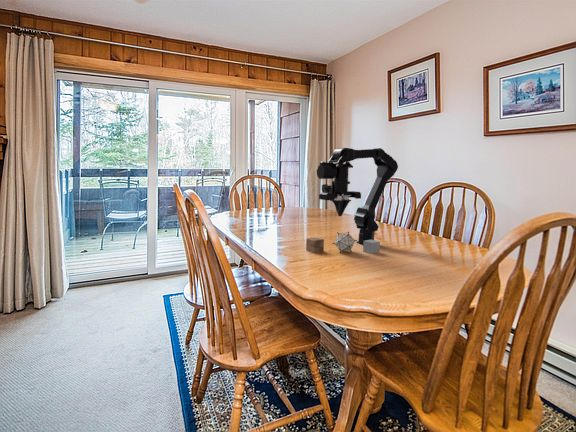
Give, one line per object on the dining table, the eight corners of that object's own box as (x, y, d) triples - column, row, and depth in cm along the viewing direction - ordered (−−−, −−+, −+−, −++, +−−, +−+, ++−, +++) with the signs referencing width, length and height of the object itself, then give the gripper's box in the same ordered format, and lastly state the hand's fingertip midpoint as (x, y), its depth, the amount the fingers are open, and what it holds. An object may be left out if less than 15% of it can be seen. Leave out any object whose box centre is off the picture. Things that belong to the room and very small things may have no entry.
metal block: (315, 248, 146) (316, 237, 145) (323, 251, 142) (323, 239, 141) (306, 250, 143) (306, 238, 143) (313, 253, 139) (314, 240, 139)
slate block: (370, 250, 145) (371, 239, 144) (379, 252, 141) (379, 241, 140) (363, 251, 142) (363, 240, 142) (371, 254, 139) (372, 242, 138)
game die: (347, 261, 141) (356, 245, 134) (328, 253, 142) (335, 236, 135) (352, 246, 147) (361, 230, 140) (333, 238, 148) (341, 222, 141)
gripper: (344, 177, 158) (343, 212, 160) (311, 178, 148) (310, 215, 150) (362, 178, 149) (361, 215, 151) (328, 179, 139) (327, 218, 141)
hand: (339, 216), depth 149 cm, fingers closed
